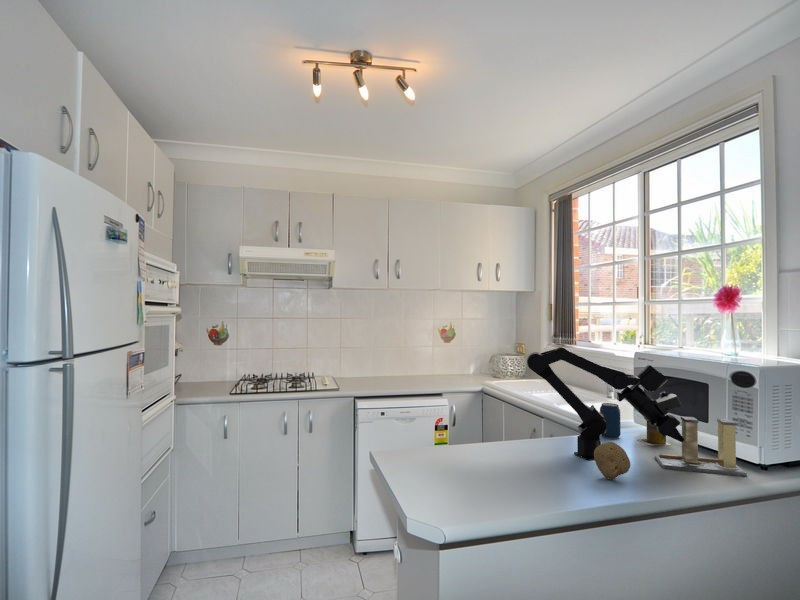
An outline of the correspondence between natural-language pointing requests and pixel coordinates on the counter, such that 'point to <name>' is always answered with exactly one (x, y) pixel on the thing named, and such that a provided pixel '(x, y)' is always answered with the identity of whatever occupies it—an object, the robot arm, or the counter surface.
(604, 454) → the natural sponge
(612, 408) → the soda can
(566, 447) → the counter surface
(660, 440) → the condiment
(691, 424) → the post
